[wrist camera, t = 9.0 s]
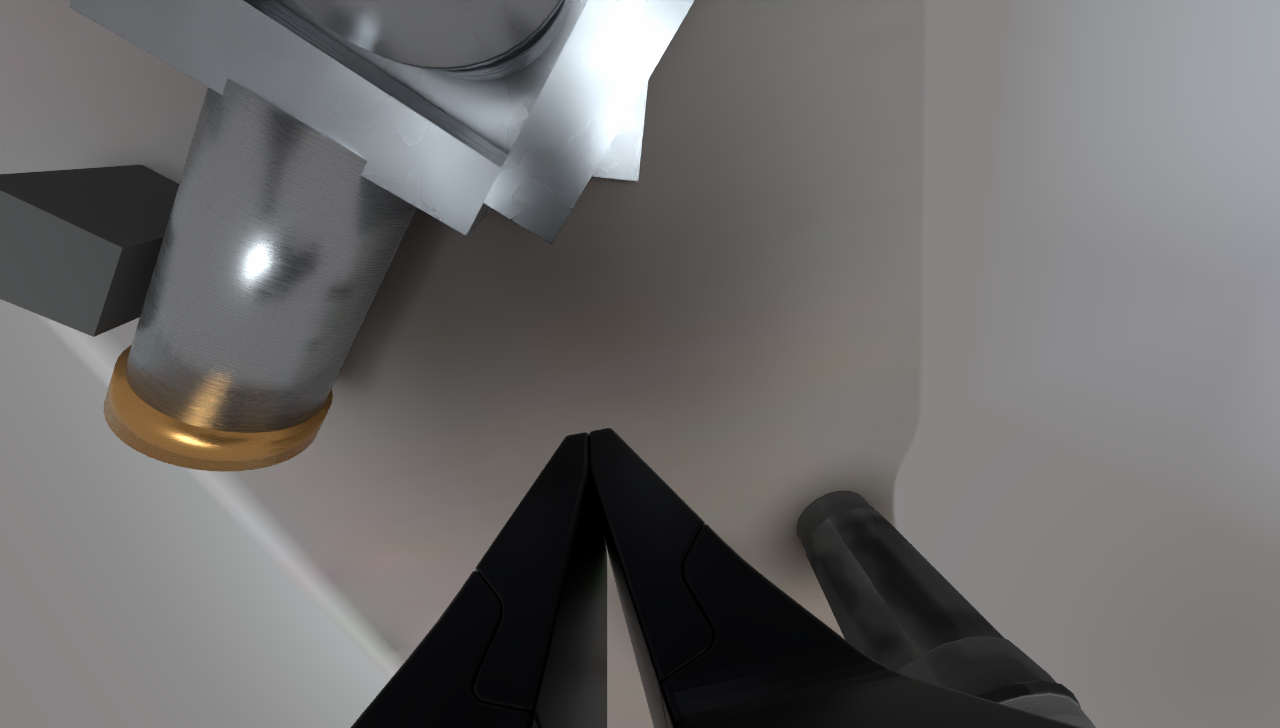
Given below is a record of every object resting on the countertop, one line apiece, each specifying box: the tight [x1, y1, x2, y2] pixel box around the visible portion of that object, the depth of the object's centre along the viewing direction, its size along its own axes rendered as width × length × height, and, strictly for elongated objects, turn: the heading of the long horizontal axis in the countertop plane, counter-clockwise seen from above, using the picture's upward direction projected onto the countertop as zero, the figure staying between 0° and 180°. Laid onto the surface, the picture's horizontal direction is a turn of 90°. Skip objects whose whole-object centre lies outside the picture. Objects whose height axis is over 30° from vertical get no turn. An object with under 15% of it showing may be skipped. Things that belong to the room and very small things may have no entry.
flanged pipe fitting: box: [70, 0, 694, 471], centre depth 12 cm, size 22×12×5 cm, turn 146°
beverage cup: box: [797, 492, 1096, 728], centre depth 19 cm, size 7×7×20 cm
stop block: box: [0, 165, 179, 337], centre depth 14 cm, size 3×3×5 cm
